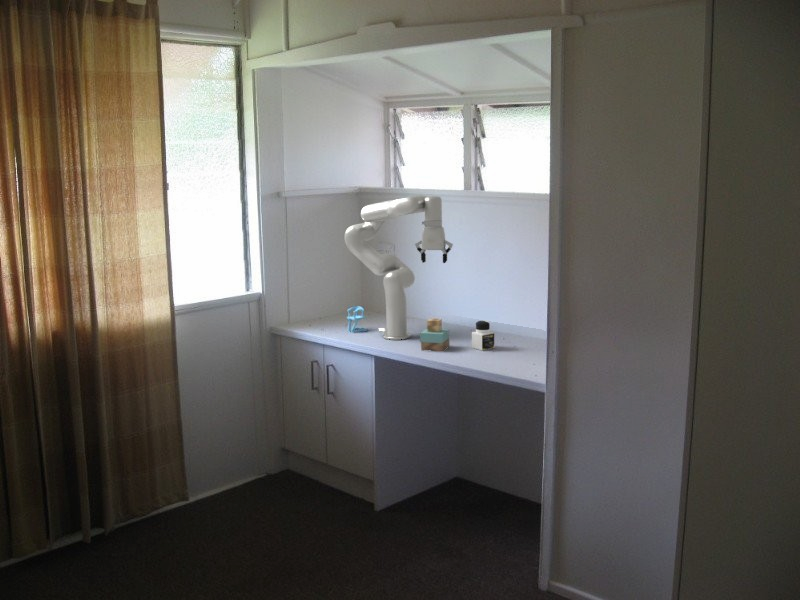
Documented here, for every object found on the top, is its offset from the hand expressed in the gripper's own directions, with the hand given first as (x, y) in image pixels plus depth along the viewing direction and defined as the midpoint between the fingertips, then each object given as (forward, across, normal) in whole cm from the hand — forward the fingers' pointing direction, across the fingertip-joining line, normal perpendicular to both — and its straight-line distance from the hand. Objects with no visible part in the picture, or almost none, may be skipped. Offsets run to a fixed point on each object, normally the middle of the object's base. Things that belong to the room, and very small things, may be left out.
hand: (434, 262), depth 375 cm
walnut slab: (+37, +4, -13) cm, 39 cm away
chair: (+36, -44, +13) cm, 59 cm away
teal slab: (+33, +3, -13) cm, 35 cm away
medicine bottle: (+36, +24, -8) cm, 44 cm away
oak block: (+29, +3, -12) cm, 31 cm away
